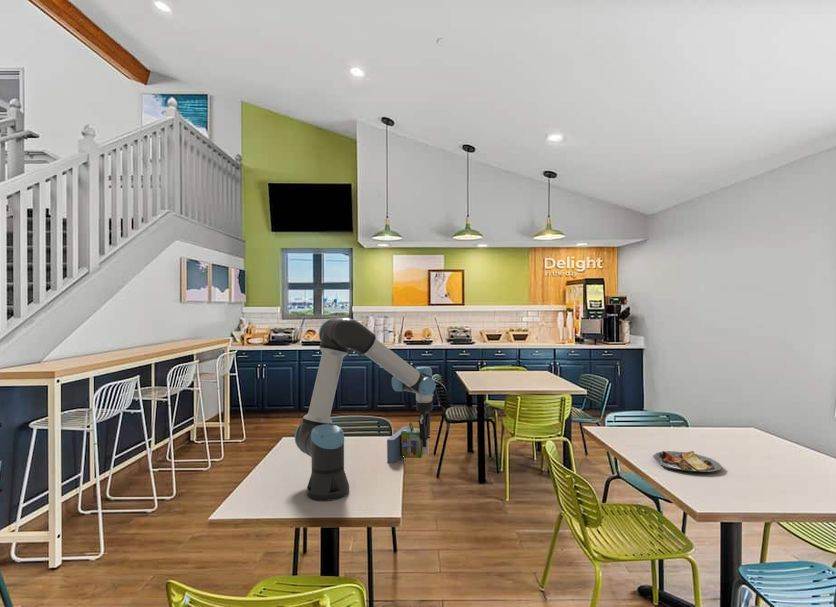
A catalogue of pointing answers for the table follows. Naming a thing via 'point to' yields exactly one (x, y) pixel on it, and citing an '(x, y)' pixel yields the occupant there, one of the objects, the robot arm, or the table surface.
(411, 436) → the chalk box
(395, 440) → the grayish blue board
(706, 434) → the table surface
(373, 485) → the table surface
